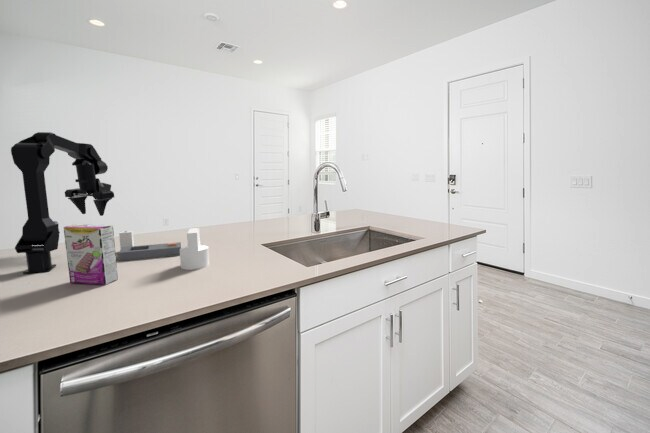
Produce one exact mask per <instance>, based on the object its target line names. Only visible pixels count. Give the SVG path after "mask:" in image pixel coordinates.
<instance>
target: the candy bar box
mask: <svg viewBox="0 0 650 433" xmlns="http://www.w3.org/2000/svg"><path fill="white" fill-rule="evenodd" d="M63 234H64V244H65V251H66V258H67V260H66V262H67V268H68V276H69V283H70V284H80V285H81V284H82V285H99V286H101V285H102V286H106V285H109V284H112V283H113V282H116V281H118V280H119V279H118V278H119V276H118V266H117V256H116V246H115V245H116V244H115V234H114V226H113V225H111V224H109V225H108V224H90V223H89V224H87V223H86V224H85V223H83V224H82V223H77V224H71V225H66V226H63Z"/></svg>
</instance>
